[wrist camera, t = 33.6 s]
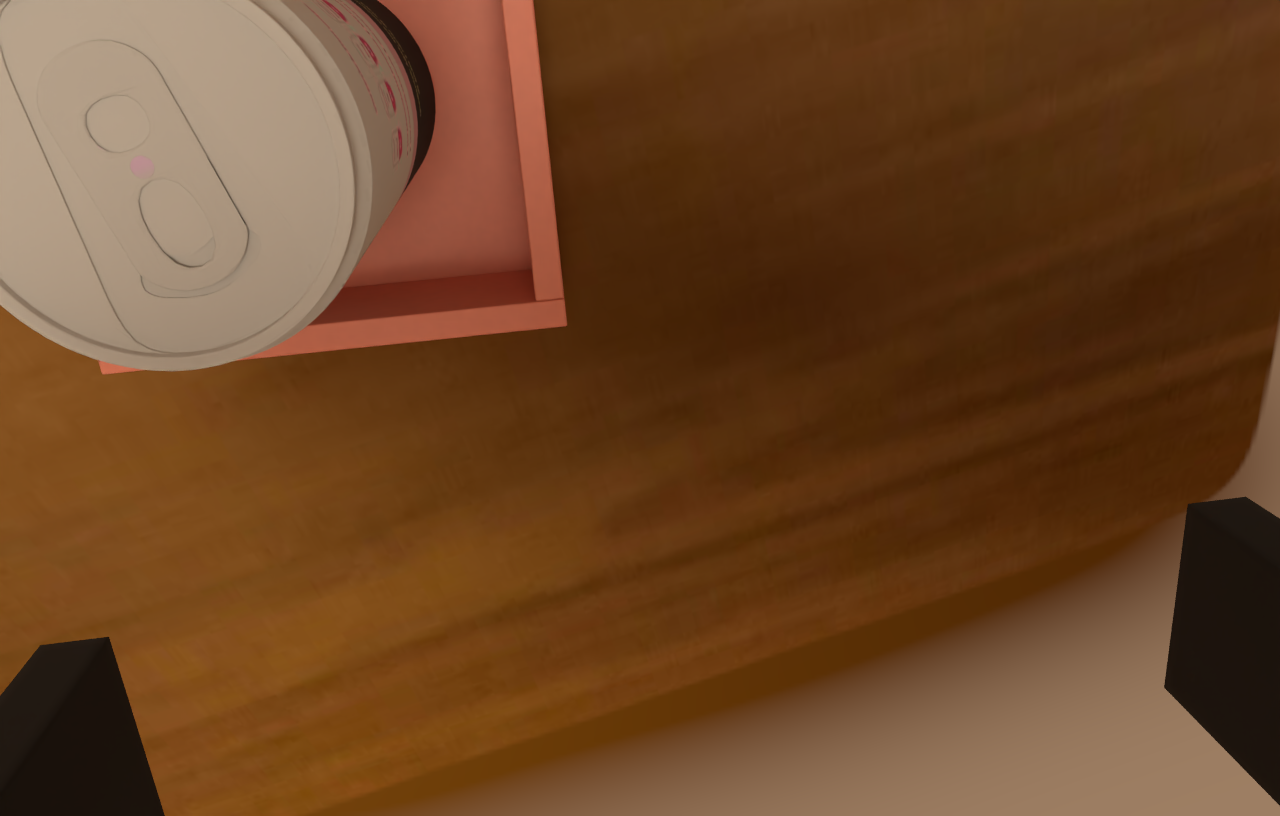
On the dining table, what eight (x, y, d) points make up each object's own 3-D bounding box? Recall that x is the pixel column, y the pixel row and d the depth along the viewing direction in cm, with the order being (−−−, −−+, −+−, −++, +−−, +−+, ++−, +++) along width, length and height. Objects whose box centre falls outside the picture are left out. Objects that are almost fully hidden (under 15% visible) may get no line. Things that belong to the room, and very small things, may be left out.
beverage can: (274, 248, 30) (71, 442, 16) (156, 32, 28) (-202, 47, 14) (474, 163, 30) (439, 287, 16) (371, -62, 28) (226, -142, 14)
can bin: (560, 286, 32) (567, 326, 28) (156, 327, 31) (101, 374, 27) (513, -158, 28) (513, -190, 23) (38, -127, 27) (-51, -154, 22)
